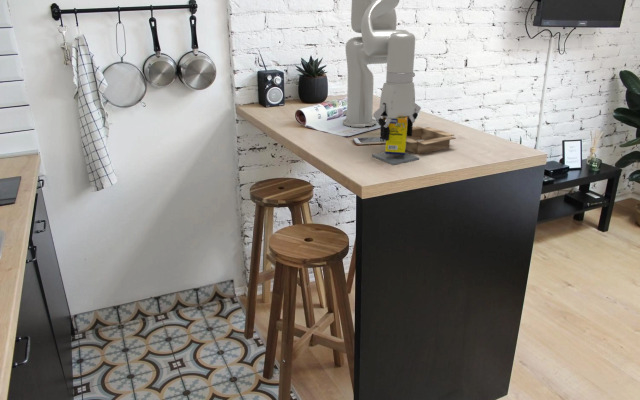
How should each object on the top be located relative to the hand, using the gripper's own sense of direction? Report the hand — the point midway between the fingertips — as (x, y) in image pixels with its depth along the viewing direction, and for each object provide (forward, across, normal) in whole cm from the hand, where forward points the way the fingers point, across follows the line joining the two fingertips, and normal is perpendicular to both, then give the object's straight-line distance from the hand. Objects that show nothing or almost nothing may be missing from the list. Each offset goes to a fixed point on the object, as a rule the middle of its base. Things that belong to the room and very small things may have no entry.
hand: (396, 137), depth 155 cm
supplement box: (+5, 0, 0) cm, 5 cm away
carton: (+7, -15, -6) cm, 17 cm away
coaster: (+6, 0, 0) cm, 6 cm away
